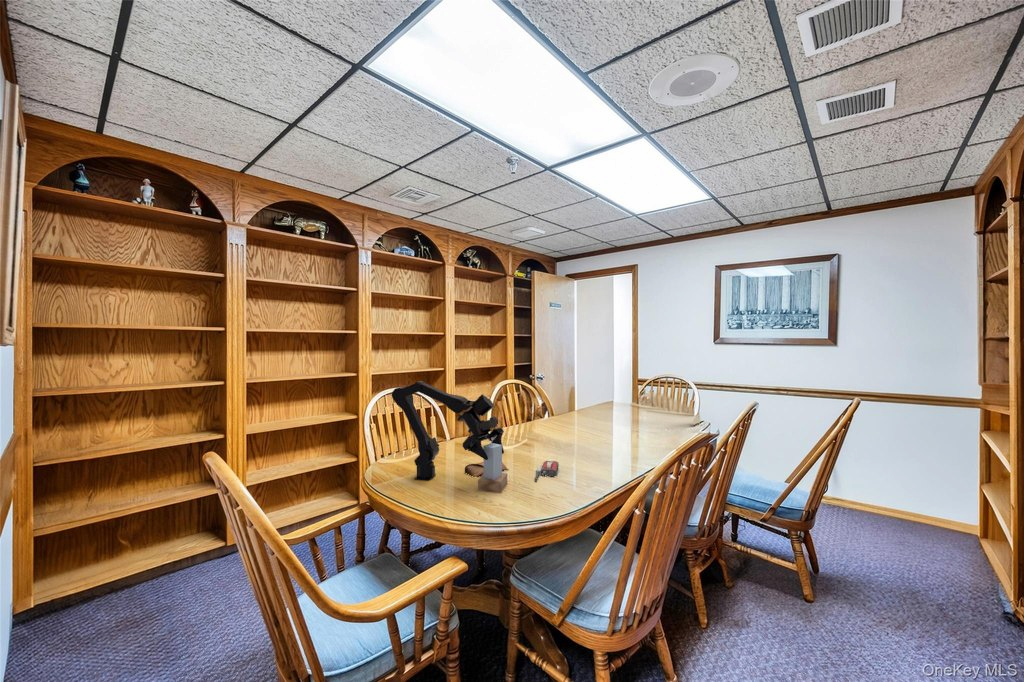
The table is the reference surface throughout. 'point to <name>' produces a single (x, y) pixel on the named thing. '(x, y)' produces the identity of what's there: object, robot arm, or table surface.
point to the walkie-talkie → (547, 469)
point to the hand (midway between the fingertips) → (495, 456)
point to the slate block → (493, 461)
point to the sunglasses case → (478, 469)
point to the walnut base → (492, 483)
